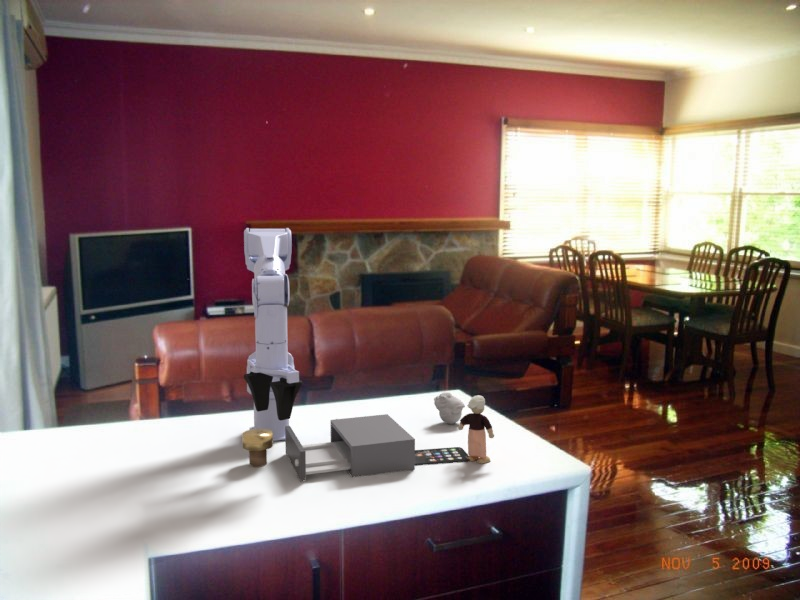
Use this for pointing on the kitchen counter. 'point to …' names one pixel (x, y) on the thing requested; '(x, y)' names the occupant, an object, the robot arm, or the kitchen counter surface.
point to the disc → (257, 439)
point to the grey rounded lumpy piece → (449, 407)
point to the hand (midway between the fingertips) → (273, 414)
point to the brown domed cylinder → (258, 458)
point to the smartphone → (440, 456)
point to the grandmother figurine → (477, 430)
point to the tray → (316, 455)
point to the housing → (375, 444)
